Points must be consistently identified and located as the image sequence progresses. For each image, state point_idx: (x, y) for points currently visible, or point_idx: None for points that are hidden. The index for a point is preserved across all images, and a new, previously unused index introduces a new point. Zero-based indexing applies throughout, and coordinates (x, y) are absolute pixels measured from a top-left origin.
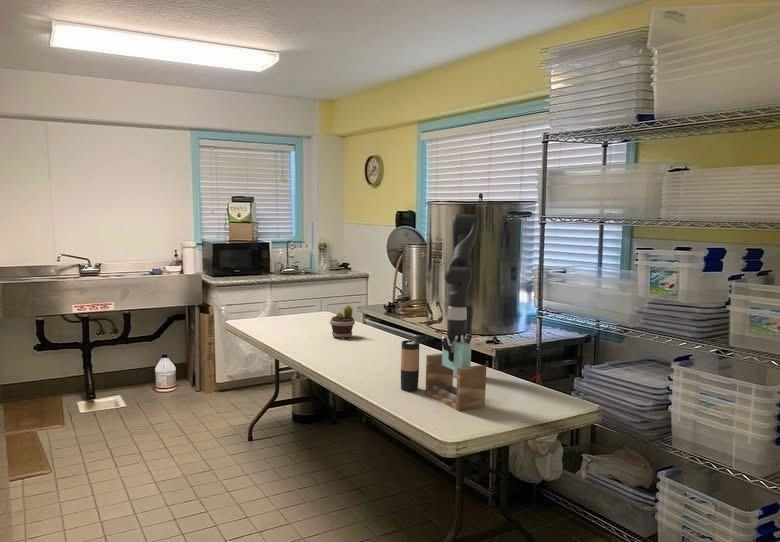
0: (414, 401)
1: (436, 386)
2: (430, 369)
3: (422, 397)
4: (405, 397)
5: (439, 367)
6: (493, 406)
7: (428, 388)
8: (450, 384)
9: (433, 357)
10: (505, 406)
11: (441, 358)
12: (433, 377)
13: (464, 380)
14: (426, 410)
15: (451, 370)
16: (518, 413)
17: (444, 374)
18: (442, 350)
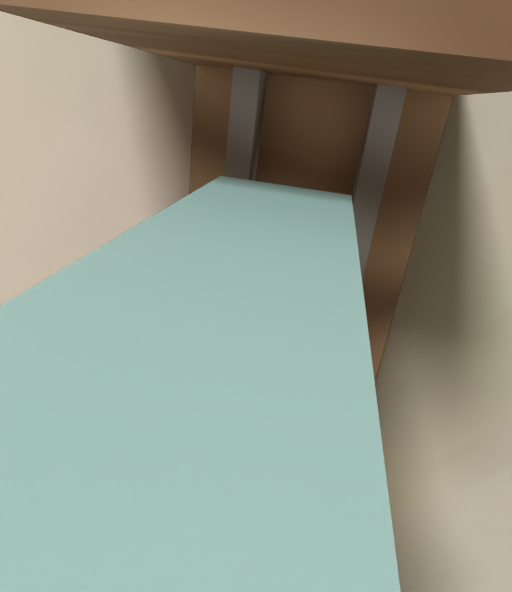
0: (44, 145)
1: (245, 106)
2: (132, 43)
3: (133, 100)
4: (21, 27)
5: (275, 59)
6: (401, 465)
7: (192, 62)
8: (434, 91)
9: (87, 20)
10: (457, 500)
11: (294, 44)
12: (215, 59)
13: None
14: None
15: (480, 88)
16: (414, 575)
17: (363, 77)
18: (121, 237)
